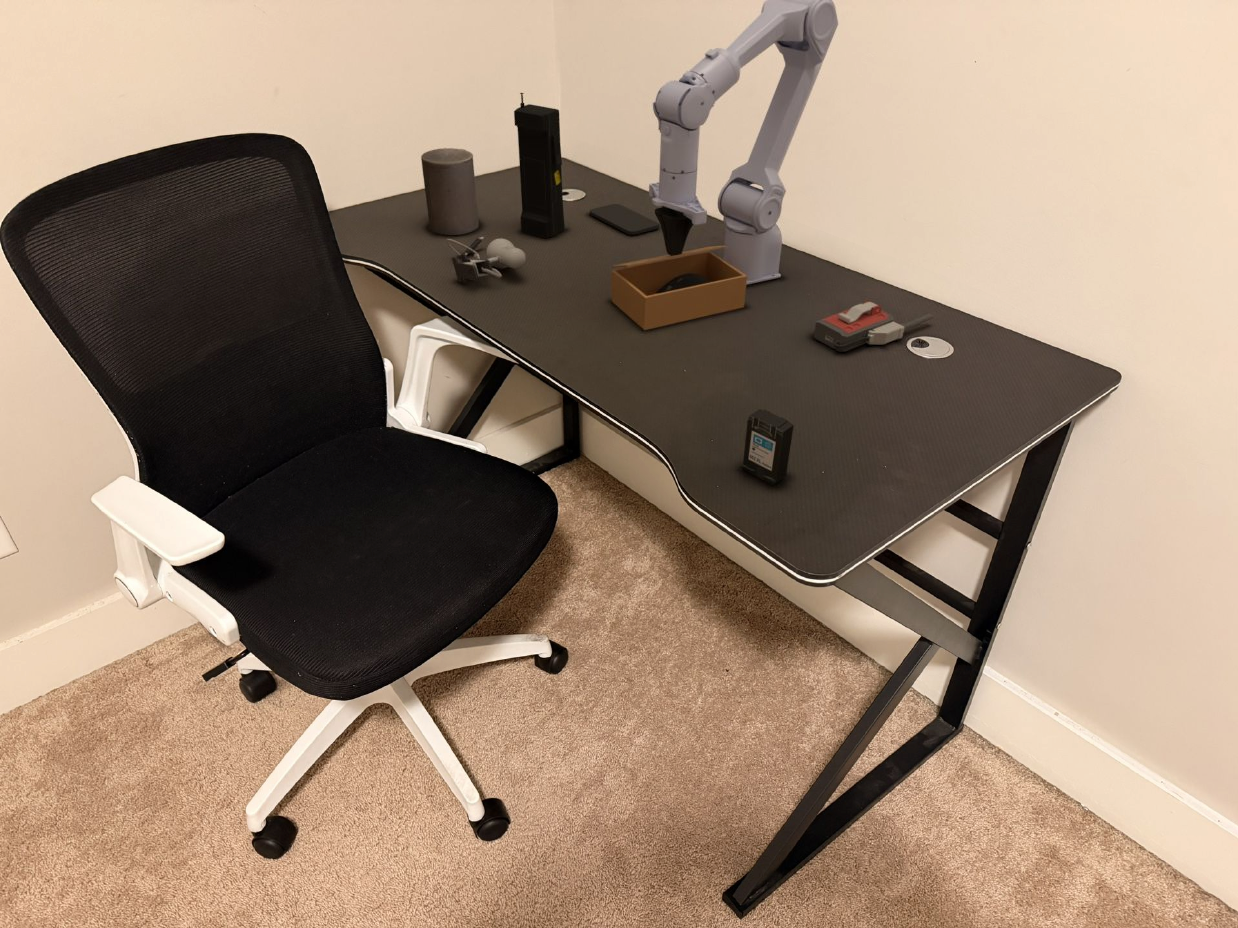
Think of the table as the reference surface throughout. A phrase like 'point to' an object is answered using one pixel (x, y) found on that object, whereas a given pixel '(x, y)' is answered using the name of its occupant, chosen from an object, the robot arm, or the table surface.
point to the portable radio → (540, 169)
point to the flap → (668, 256)
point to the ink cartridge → (767, 446)
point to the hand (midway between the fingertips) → (674, 253)
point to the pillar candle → (450, 191)
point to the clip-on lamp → (497, 253)
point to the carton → (655, 310)
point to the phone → (624, 219)
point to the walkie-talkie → (861, 327)
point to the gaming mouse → (683, 282)
